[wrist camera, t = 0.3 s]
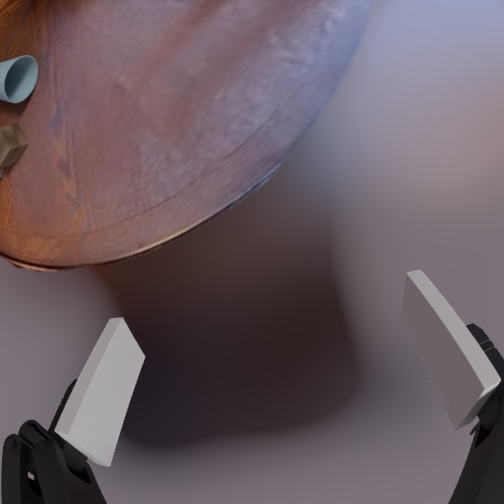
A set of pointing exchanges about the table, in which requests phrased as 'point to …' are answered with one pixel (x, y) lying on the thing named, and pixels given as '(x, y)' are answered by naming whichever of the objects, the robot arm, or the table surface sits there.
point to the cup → (17, 78)
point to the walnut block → (11, 144)
